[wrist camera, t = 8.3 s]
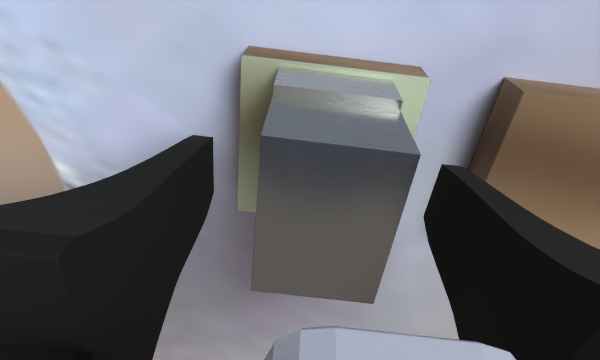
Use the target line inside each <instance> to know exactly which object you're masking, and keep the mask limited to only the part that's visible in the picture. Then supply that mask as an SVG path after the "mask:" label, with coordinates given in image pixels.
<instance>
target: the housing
mask: <svg viewBox="0 0 600 360" xmlns="http://www.w3.org/2000/svg"><path fill="white" fill-rule="evenodd" d="M402 103H403V100H402V98H401V96H400V94H399V92H398V90H397V88H396V86H395V84H394V82H393V80H386V79H379V78H371V77H363V76H355V75H347V74H339V73H331V72H323V71H315V70H307V69H299V68H291V67H283V66H279V69H278V73H277V76H276V79H275V82H274V88H273V97H272V100H271V103H270V107H269V110H268V113H267V117H266V120H265V123H264V127H263V130H262V133H261V142H260V157H259V173H258V188H257V204H256V219H255V235H254V250H253V266H252V281H251V290H254V291H263V292H272V293H281V294H290V295H299V296H307V297H316V298H325V299H334V300H343V301H352V302H361V303H370V304H373V303H374V300H375V297H376V294H377V291H378V287H379V284H380V281H381V278H382V275H383V272H384V269H385V265H386V262H387V259H388V256H389V253H390V250H391V247H392V243H393V240H394V237H395V234H396V231H397V228H398V225H399V221H400V218H401V215H402V212H403V209H404V206H405V203H406V199H407V196H408V193H409V190H410V187H411V184H412V181H413V177H414V174H415V171H416V168H417V165H418V162H419V159H420V155H421V154H420V152H419V150H418V148H417V146H416V143H415V141H414V139H413V137H412V135H411V133H410V131H409V128H408V126H407V124H406V122H405V120H404V118H403V115H402V113H401V111H400V110H401V106H402Z"/></svg>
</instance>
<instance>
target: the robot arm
mask: <svg viewBox="0 0 600 360" xmlns="http://www.w3.org/2000/svg"><path fill="white" fill-rule="evenodd" d="M213 193H214V178H213V137H205V136H197V135H193V136H190V137H188V138H186V139H184V140H182V141H181V142H179V143H177V144H175V145H173V146H172V147H170V148H168V149H166V150H164V151H163V152H161V153H159V154H157V155H155V156H154V157H152V158H150V159H148V160H146V161H144V162H141V163H139V164H137V165H135V166H133V167H131V168H129V169H127V170H125V171H123V172H120V173H118V174H115V175H113V176H110V177H108V178H105V179H102V180H100V181H97V182H94V183H91V184H88V185H84V186H81V187H78V188H74V189H71V190H67V191H64V192H60V193H57V194H53V195H49V196H44V197H40V198H35V199H31V200H25V201H21V202H15V203H10V204H4V205H0V360H152V359H153V355H154V352H155V348H156V345H157V342H158V338H159V335H160V332H161V329H162V325H163V322H164V319H165V316H166V313H167V310H168V307H169V304H170V301H171V298H172V295H173V292H174V289H175V286H176V283H177V280H178V278H179V276H180V273H181V271H182V269H183V267H184V264H185V262H186V260H187V258H188V256H189V254H190V252H191V249H192V247H193V245H194V243H195V241H196V239H197V237H198V234H199V232H200V230H201V228H202V226H203V223H204V221H205V219H206V216H207V213H208V210H209V207H210V203H211V200H212V196H213ZM424 221H425V227H426V233H427V237H428V242H429V245H430V248H431V251H432V254H433V257H434V260H435V263H436V266H437V268H438V271H439V274H440V277H441V279H442V282H443V285H444V288H445V290H446V293H447V296H448V299H449V302H450V305H451V308H452V311H453V315H454V319H455V323H456V327H457V332H458V336H459V340H456V339H447V338H437V337H428V336H419V335H410V334H400V333H391V332H382V331H372V330H363V329H354V328H345V327H335V326H332V327H315V328H303V329H301V330H299V331H297V332H295V333H293V334H290V335H288V336H286V337H284V338H282V339H280V340H278V341H276V342H274V344H273V346H272V348H271V349H270V351H269V353H268V354H267V356H266V358H265V360H600V249H598V248H595V247H593V246H591V245H589V244H587V243H585V242H583V241H581V240H579V239H577V238H575V237H573V236H571V235H569V234H568V233H566V232H564V231H562V230H560V229H558V228H556V227H554V226H553V225H551V224H549V223H548V222H546V221H544V220H542V219H541V218H539V217H538V216H536V215H534V214H533V213H531V212H530V211H528V210H526V209H525V208H523V207H522V206H520V205H519V204H517V203H516V202H514V201H513V200H511V199H510V198H508V197H507V196H505V195H504V194H503V193H501V192H500V191H498V190H497V189H495V188H494V187H493V186H491V185H490V184H488V183H487V182H485V181H484V180H482V179H481V178H480V177H478V176H477V175H475V174H474V173H472V172H470V171H469V170H467V169H465V168H463V167H461V166H453V165H444V164H442V165H441V168H440V171H439V174H438V177H437V180H436V182H435V185H434V188H433V191H432V194H431V197H430V199H429V202H428V205H427V208H426V211H425V214H424Z"/></svg>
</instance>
